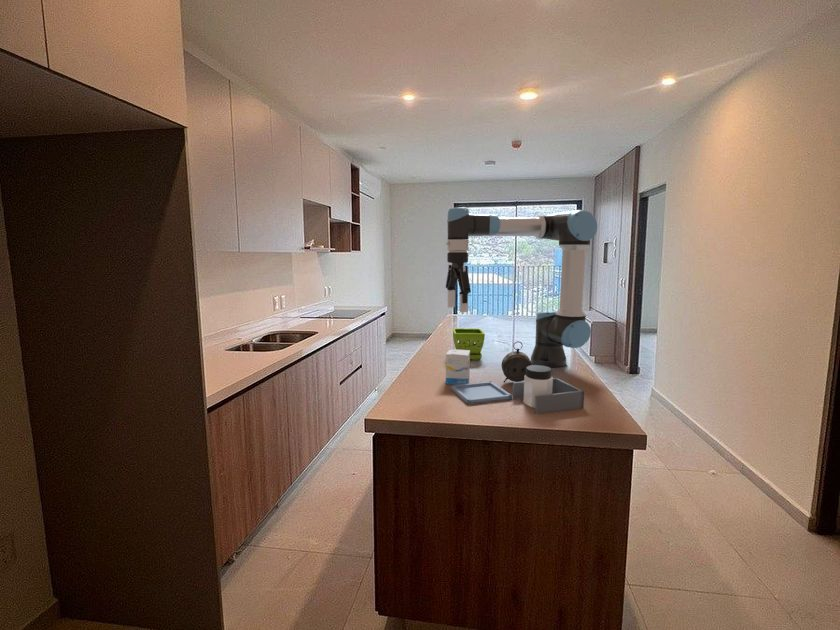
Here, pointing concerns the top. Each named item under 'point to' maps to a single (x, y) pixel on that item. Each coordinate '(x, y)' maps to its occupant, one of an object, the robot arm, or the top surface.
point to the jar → (537, 383)
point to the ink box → (457, 367)
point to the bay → (554, 397)
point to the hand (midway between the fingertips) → (457, 309)
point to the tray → (480, 392)
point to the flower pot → (469, 341)
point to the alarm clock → (515, 365)
